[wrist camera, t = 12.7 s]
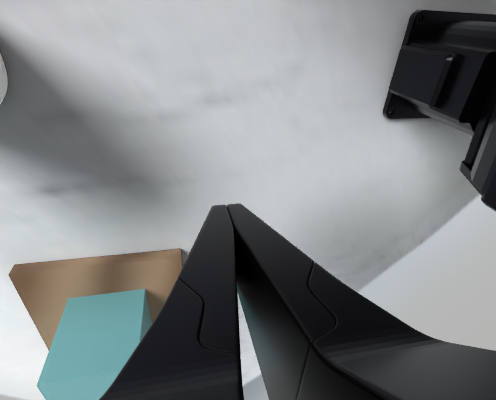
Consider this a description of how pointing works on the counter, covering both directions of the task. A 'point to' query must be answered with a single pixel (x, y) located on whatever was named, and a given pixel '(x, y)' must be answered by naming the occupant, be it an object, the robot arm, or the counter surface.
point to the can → (3, 80)
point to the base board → (93, 283)
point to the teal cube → (93, 344)
